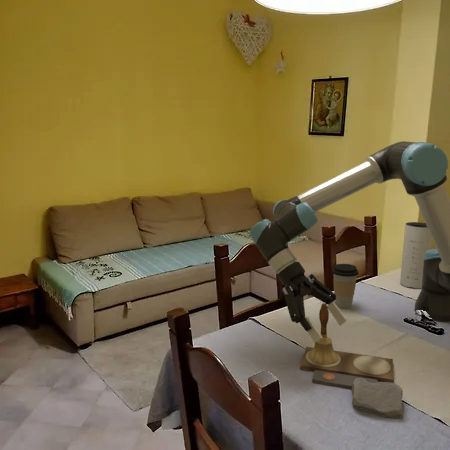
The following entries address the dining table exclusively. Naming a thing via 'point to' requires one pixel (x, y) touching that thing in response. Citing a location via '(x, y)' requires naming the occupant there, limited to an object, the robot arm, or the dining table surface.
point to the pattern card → (337, 379)
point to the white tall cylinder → (414, 254)
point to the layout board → (354, 366)
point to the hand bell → (323, 342)
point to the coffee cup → (344, 284)
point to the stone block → (378, 398)
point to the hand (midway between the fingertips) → (331, 331)
